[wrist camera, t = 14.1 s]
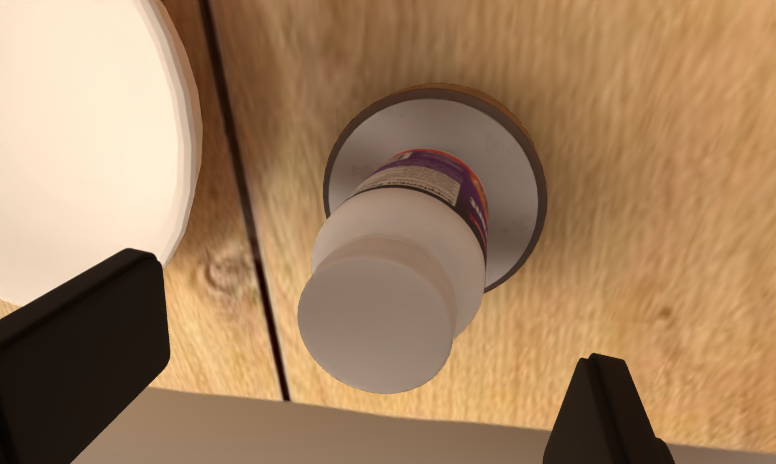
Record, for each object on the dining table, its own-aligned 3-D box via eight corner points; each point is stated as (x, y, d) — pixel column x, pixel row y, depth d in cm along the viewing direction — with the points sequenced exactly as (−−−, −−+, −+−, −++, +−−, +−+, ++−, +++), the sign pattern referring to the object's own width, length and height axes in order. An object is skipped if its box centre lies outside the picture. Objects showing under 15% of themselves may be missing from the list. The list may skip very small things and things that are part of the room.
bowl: (-121, 9, 26) (-300, -1, 20) (109, -241, 19) (-63, -368, 13) (91, 299, 31) (-3, 358, 25) (336, 186, 24) (284, 231, 18)
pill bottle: (477, 271, 21) (461, 439, 12) (362, 249, 22) (268, 390, 13) (501, 154, 19) (504, 253, 10) (373, 134, 19) (269, 209, 11)
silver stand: (348, 68, 21) (328, 71, 19) (568, 101, 20) (578, 110, 17) (332, 257, 25) (313, 281, 23) (514, 297, 24) (516, 327, 21)
